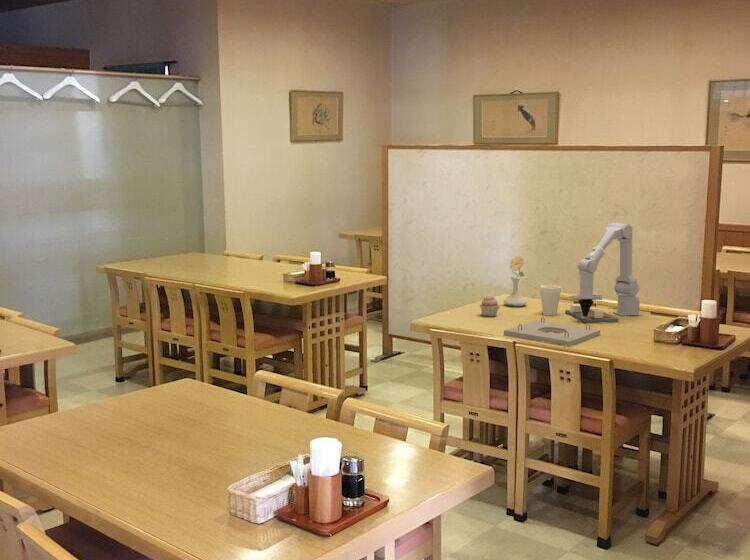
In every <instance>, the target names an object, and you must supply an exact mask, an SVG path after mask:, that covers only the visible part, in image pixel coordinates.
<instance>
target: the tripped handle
mask: <svg viewBox="0 0 750 560" xmlns="http://www.w3.org/2000/svg"><path fill="white" fill-rule="evenodd" d="M603 312H604V311H603V310H602V309H598V310H591V317H593V318H603Z"/></svg>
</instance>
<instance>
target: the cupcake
mask: <svg viewBox="0 0 750 560" xmlns="http://www.w3.org/2000/svg"><path fill="white" fill-rule="evenodd" d="M479 307H480V310H481V314H482V316H483V317H487V318H494V317H496V316H497V314H498V311H499V308H500V307H501V306H500V305H499V304H498V300H497V298H495V297H493V295H491V294H488V295H486V296H485V297H484V298H483V299H482V300H481V304H479Z"/></svg>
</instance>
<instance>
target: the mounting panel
mask: <svg viewBox="0 0 750 560" xmlns="http://www.w3.org/2000/svg"><path fill="white" fill-rule="evenodd" d="M549 332H553V333H549ZM597 335H599V336H601V329H595V328H591V324H590V323H586V327H582V326H576V325H572V324H571V325H570V324H564V323H558V322H557V323H556V322H550V321H545V317H544V316H543V317H540V320H538V319H537V320H536V319H535V320H532V321H530V322H526V323H525V322H524V323H522V324H521V323H520V324H518V325H516V326H512V327H511V328H506V329H504V330H503V336H507V337H512V338H517V339H523V340H529V341H534V340H536V341H535V342H539V341H544V342H543V343H545V342H550V343H549V344H551V343H555V344H554V345H557V344H560V345H559V346H562V345H567V346H566V347H568V346H571V347H573V346H576V345H578V344H581V343H583V342H582V341H584V342H586V341H588V339H589V340H591V339H593V337H594V338H596V337H598V336H597ZM595 336H596V337H595ZM590 338H591V339H590ZM585 340H586V341H585ZM580 342H581V343H580ZM577 343H578V344H577ZM575 344H576V345H575ZM572 345H573V346H572Z"/></svg>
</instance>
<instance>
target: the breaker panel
mask: <svg viewBox="0 0 750 560" xmlns="http://www.w3.org/2000/svg"><path fill="white" fill-rule="evenodd" d="M591 310H599V309H598V308H597V309H595V308H593V309H592V308H590V310H589V312H588V316H583V313H582V312H572V311H570V309H566V310H564V311H565V314H566V315H568V316H570V317H571V316H572V318H574V319H575V320H577V321H579V322H581V323H583V322H584V323H583V324H597V323H596V322H606V323H619V318H618V317H616V316H613V315H611V314H608V313H607V312H605V311H603V318H593V317H591Z"/></svg>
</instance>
